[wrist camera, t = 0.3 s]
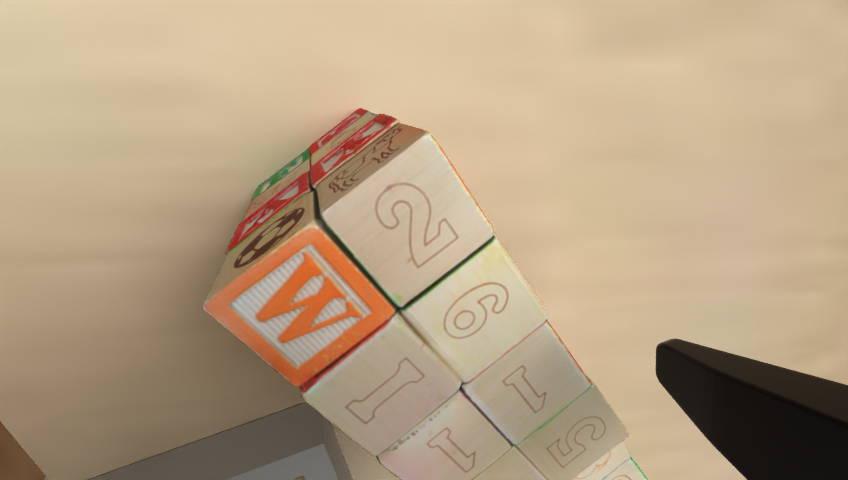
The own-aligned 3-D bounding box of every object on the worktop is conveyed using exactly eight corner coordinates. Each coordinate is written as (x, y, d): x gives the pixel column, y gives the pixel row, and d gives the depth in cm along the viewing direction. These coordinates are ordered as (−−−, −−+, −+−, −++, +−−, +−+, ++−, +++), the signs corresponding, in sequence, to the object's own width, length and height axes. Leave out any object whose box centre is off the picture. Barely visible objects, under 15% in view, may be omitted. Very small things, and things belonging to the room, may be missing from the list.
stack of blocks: (552, 373, 29) (710, 552, 18) (479, 430, 29) (592, 646, 18) (358, 103, 20) (433, 125, 9) (251, 185, 20) (192, 310, 9)
